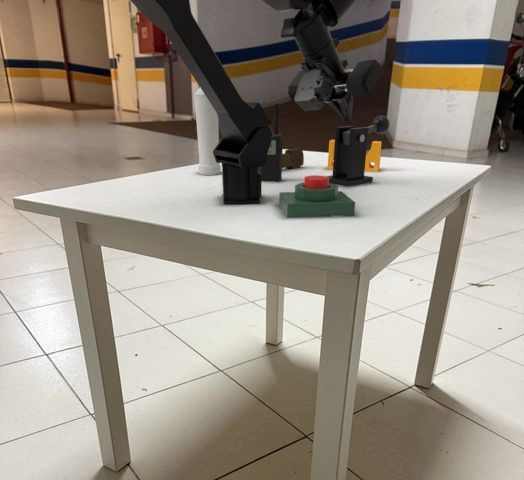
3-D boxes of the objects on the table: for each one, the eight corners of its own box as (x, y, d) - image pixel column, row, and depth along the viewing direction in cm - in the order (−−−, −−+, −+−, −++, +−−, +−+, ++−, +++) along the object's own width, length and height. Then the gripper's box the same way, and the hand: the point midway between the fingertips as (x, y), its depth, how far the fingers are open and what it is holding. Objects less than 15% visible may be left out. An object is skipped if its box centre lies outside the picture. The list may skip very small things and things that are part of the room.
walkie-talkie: (258, 181, 106) (258, 103, 99) (262, 178, 109) (262, 103, 102) (280, 182, 105) (281, 104, 98) (283, 179, 108) (285, 103, 101)
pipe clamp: (379, 169, 121) (382, 140, 118) (377, 171, 118) (380, 142, 114) (330, 166, 124) (332, 139, 121) (327, 169, 121) (329, 140, 117)
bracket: (348, 178, 110) (352, 125, 105) (372, 183, 105) (378, 127, 100) (322, 182, 106) (325, 127, 101) (346, 187, 101) (351, 129, 96)
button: (306, 191, 80) (307, 179, 79) (302, 186, 83) (302, 175, 82) (331, 190, 80) (331, 179, 79) (325, 185, 84) (326, 175, 83)
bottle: (222, 171, 118) (218, 48, 106) (218, 175, 113) (213, 47, 101) (201, 171, 118) (194, 48, 106) (196, 175, 114) (189, 47, 102)
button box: (287, 217, 79) (287, 192, 77) (279, 205, 87) (279, 181, 85) (354, 216, 80) (356, 190, 78) (340, 203, 88) (342, 180, 86)
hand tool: (257, 177, 111) (257, 155, 109) (245, 174, 114) (244, 153, 112) (311, 168, 123) (312, 148, 121) (299, 166, 126) (300, 146, 123)
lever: (379, 130, 108) (379, 113, 106) (393, 132, 106) (392, 113, 103) (340, 147, 103) (339, 129, 101) (353, 149, 100) (352, 130, 98)
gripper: (256, 82, 92) (293, 149, 103) (334, 70, 79) (368, 148, 90) (287, 41, 94) (321, 111, 105) (368, 24, 82) (397, 105, 93)
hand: (349, 119), depth 98 cm, fingers closed
